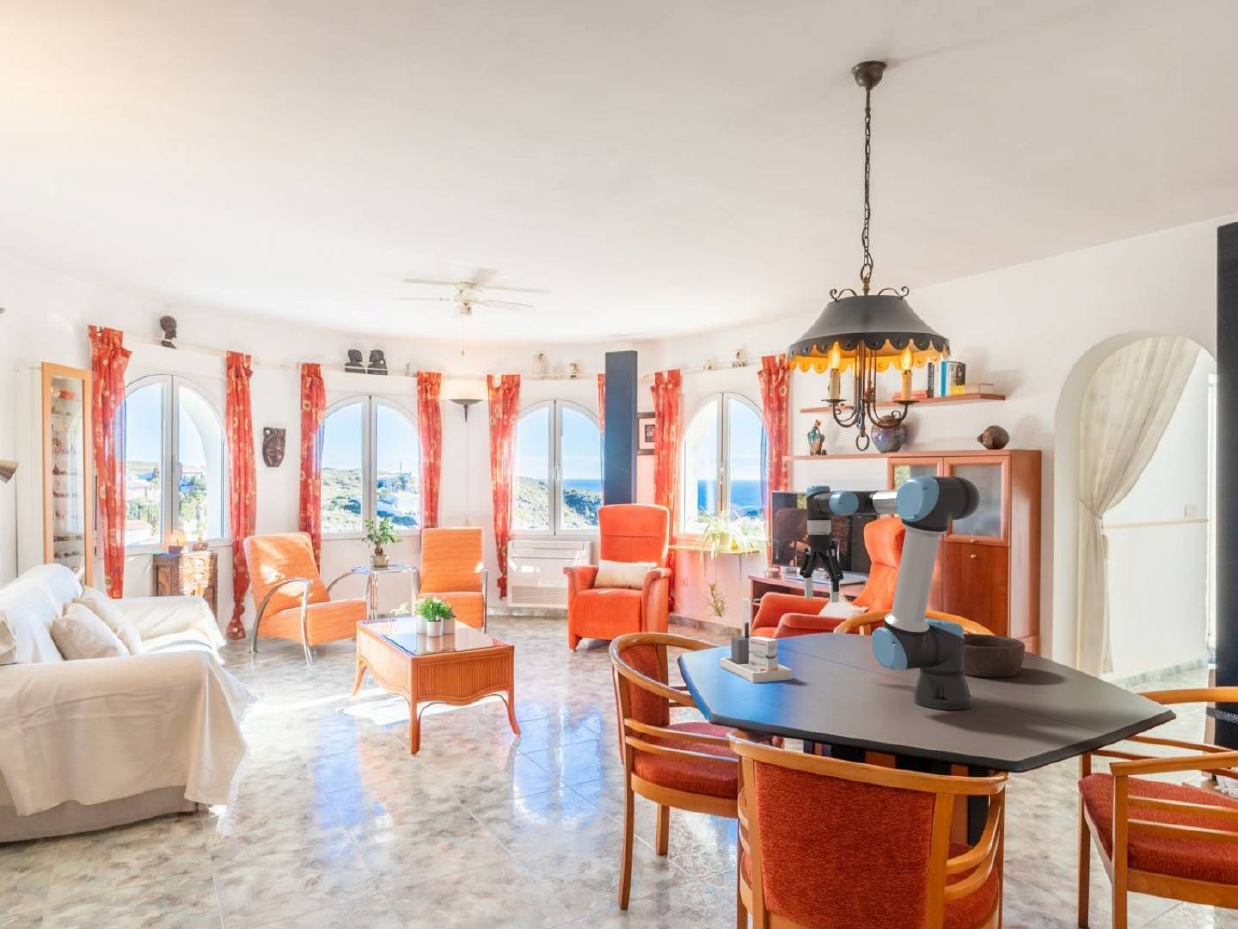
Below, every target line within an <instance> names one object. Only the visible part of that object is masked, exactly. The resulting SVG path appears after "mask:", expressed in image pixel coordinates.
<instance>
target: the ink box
mask: <svg viewBox="0 0 1238 929" xmlns="http://www.w3.org/2000/svg"><path fill="white" fill-rule="evenodd" d="M756 636H757V637H750V638H749V670H750V671H753V672H762V671H765V670H774V669H777V670H778V664H779V659H778V658H779V657H778V656H779V655H778V654H779V653H778V649H779V648H778V639H774V638H770V637H763V636H758V635H756Z"/></svg>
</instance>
